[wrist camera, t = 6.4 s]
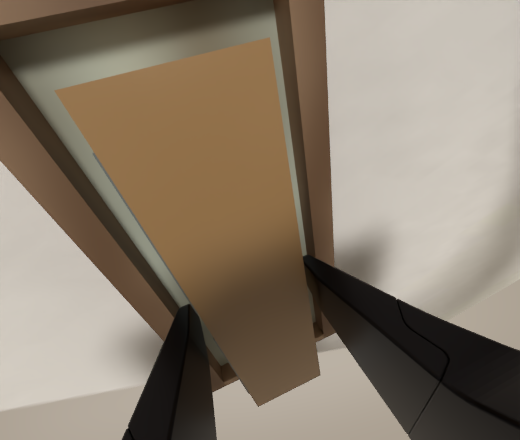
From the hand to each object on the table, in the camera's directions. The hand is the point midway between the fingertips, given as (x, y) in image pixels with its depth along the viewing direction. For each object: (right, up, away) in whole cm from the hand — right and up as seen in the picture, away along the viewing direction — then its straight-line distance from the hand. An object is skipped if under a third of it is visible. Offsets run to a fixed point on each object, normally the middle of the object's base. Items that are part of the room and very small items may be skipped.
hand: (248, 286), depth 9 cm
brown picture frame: (-1, +2, +4) cm, 4 cm away
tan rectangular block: (-1, +1, +2) cm, 2 cm away
